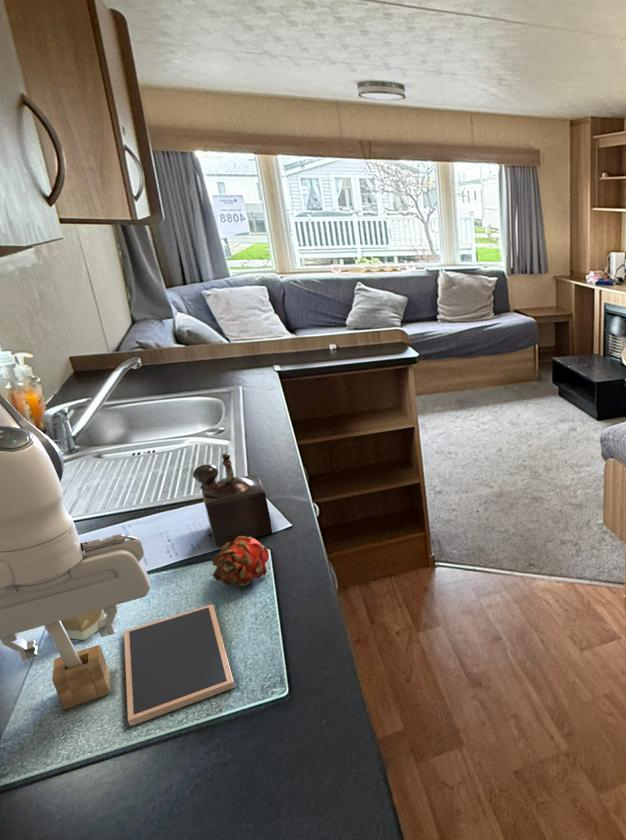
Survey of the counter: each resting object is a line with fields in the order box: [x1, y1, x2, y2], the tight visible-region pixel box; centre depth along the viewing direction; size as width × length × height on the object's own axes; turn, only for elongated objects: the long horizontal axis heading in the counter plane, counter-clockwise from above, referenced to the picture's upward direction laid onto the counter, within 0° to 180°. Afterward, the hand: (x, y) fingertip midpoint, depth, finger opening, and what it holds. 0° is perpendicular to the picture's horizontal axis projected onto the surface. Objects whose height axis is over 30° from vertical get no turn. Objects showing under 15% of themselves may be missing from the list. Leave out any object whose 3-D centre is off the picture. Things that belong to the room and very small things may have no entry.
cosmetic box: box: [61, 609, 106, 641], centre depth 98 cm, size 6×4×12 cm
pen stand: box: [51, 644, 111, 710], centre depth 88 cm, size 5×5×5 cm
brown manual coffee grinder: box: [192, 452, 273, 548], centre depth 124 cm, size 16×11×18 cm
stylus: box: [43, 621, 83, 669], centre depth 85 cm, size 2×2×15 cm
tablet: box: [123, 603, 236, 727], centre depth 94 cm, size 12×22×1 cm, turn 35°
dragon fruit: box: [211, 536, 270, 587], centre depth 113 cm, size 8×8×12 cm
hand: (70, 644), depth 86 cm, fingers open, 7 cm apart
